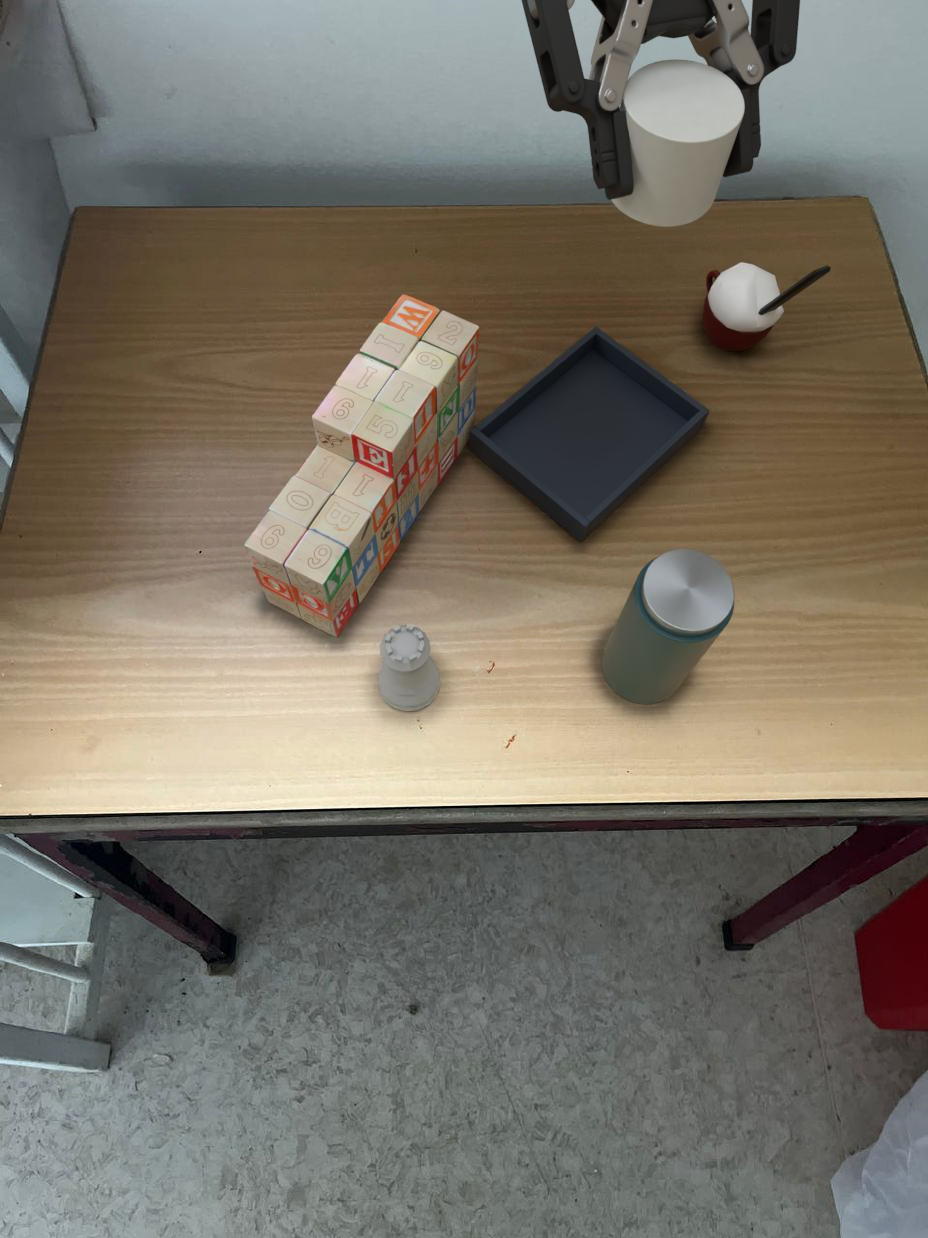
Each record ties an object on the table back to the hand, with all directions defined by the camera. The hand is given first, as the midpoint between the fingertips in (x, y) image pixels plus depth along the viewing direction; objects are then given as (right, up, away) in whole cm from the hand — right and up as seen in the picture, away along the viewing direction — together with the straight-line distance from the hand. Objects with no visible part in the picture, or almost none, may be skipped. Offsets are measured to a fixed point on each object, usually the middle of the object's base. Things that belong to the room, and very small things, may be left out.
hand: (679, 184), depth 44 cm
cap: (-1, +1, +2) cm, 2 cm away
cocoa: (+12, +2, +30) cm, 33 cm away
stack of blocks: (-18, -14, +23) cm, 32 cm away
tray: (-1, -8, +26) cm, 27 cm away
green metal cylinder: (+2, -26, +18) cm, 32 cm away
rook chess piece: (-15, -27, +17) cm, 36 cm away
